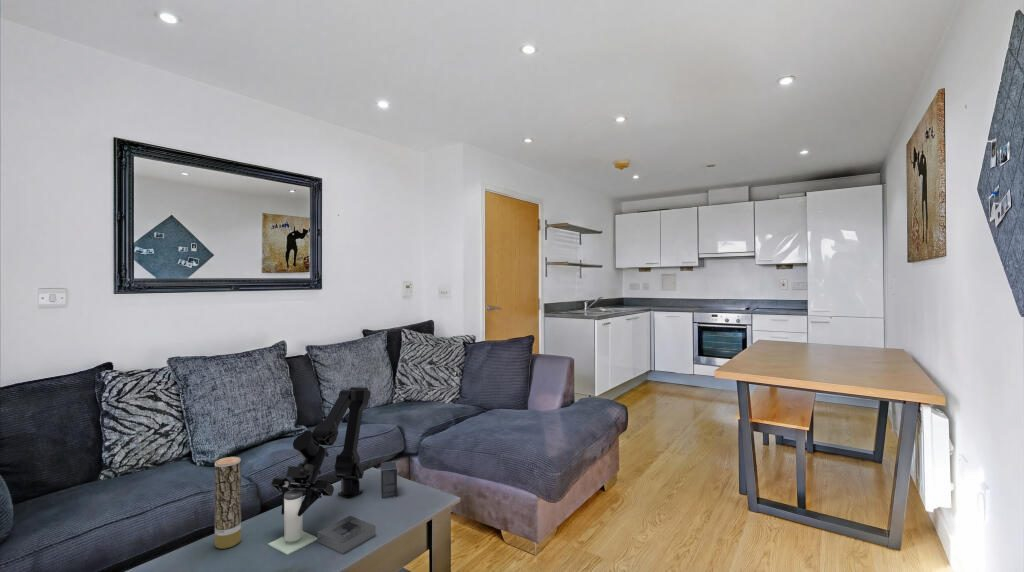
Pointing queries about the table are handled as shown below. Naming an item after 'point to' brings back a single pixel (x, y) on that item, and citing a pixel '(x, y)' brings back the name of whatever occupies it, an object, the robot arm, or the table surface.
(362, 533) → the frame
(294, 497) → the plug
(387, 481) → the box
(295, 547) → the mat
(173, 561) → the table surface
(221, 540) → the bark textured cylinder
